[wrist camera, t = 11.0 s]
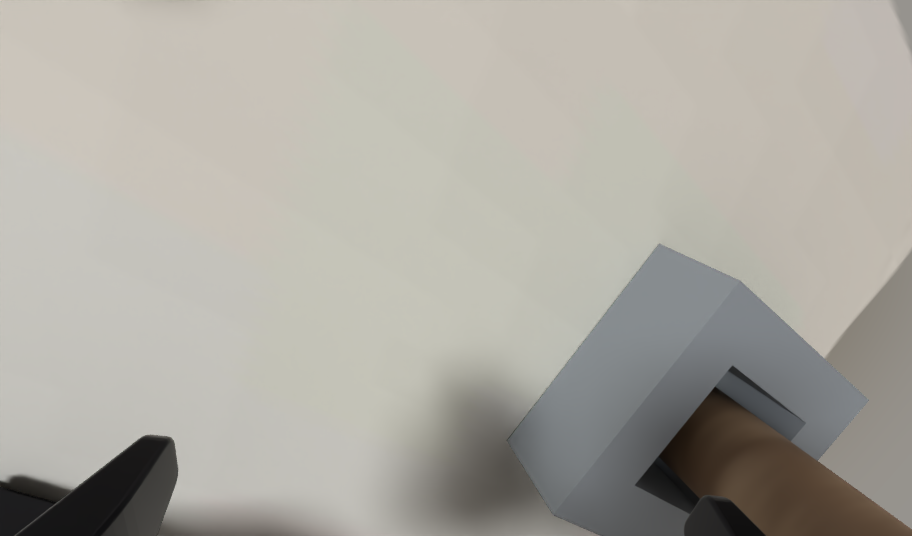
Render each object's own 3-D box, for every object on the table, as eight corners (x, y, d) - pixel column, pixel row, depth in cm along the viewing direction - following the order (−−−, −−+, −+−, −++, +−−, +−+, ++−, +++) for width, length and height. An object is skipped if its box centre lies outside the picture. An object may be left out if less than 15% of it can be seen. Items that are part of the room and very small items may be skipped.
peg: (630, 443, 27) (902, 732, 15) (607, 385, 25) (894, 661, 13) (697, 401, 27) (1012, 650, 16) (679, 340, 25) (1019, 570, 14)
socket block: (651, 512, 29) (712, 584, 25) (506, 440, 24) (552, 514, 20) (783, 352, 28) (869, 400, 24) (659, 243, 23) (740, 280, 19)
